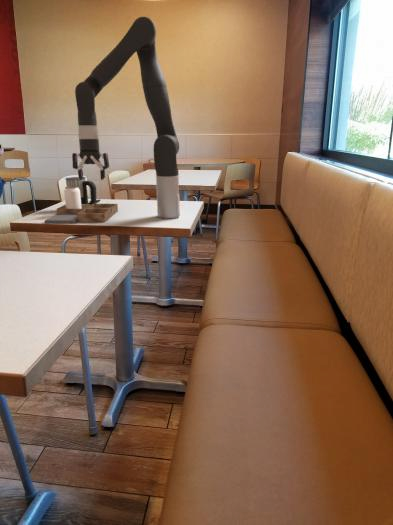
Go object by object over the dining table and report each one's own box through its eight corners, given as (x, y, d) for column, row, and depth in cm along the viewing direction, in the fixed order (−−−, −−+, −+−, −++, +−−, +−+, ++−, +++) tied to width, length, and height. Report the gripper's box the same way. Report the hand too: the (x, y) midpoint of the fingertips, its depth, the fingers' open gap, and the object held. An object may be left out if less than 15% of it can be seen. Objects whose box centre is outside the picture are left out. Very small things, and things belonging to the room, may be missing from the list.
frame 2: (111, 216, 174) (111, 208, 173) (105, 222, 164) (104, 213, 163) (85, 216, 175) (85, 208, 174) (77, 222, 164) (76, 213, 163)
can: (77, 216, 176) (75, 188, 172) (64, 215, 177) (61, 187, 173) (84, 213, 182) (82, 186, 178) (71, 212, 183) (68, 185, 179)
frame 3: (118, 211, 186) (117, 203, 185) (112, 216, 175) (111, 208, 174) (93, 211, 186) (93, 203, 185) (86, 216, 175) (85, 208, 174)
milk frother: (66, 212, 185) (63, 178, 181) (72, 205, 200) (69, 175, 196) (98, 211, 187) (95, 178, 182) (101, 205, 202) (99, 174, 197)
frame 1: (90, 212, 184) (90, 204, 183) (83, 217, 174) (82, 208, 173) (66, 212, 185) (65, 204, 184) (57, 217, 174) (56, 208, 173)
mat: (83, 217, 173) (83, 214, 173) (74, 223, 162) (74, 220, 161) (56, 217, 174) (55, 214, 173) (44, 223, 162) (44, 220, 162)
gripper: (109, 137, 163) (111, 178, 168) (74, 137, 164) (78, 178, 169) (103, 137, 156) (106, 180, 161) (67, 138, 157) (71, 180, 162)
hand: (92, 179), depth 165 cm, fingers open, 8 cm apart
